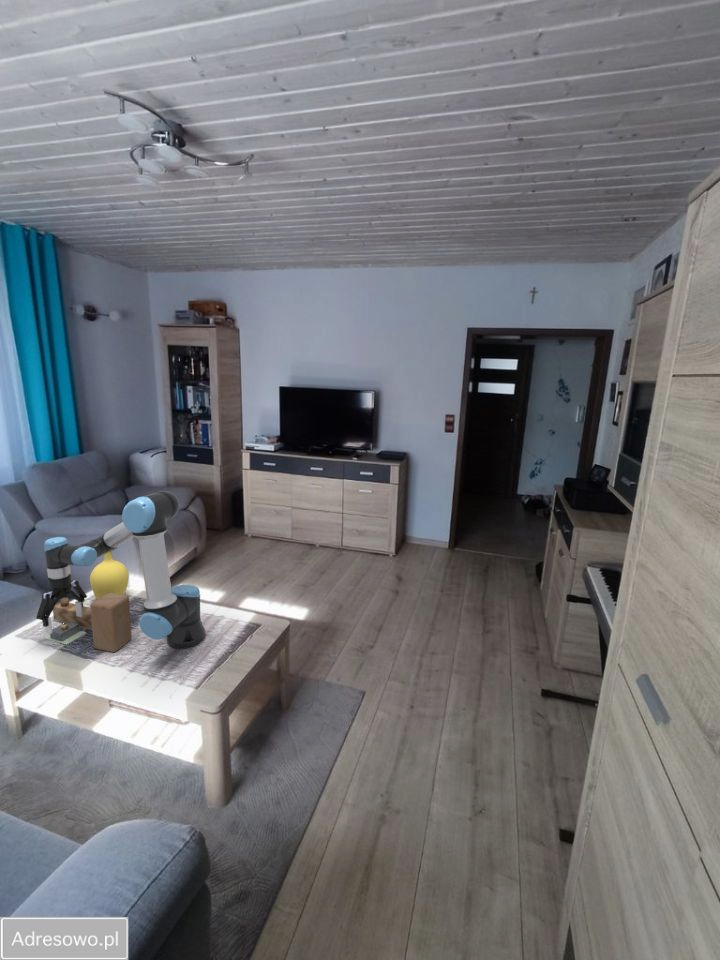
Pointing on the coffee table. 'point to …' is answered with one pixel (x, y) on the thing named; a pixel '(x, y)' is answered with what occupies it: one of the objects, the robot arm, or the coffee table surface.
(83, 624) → the body
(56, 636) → the lever cap
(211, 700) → the coffee table surface
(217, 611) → the coffee table surface
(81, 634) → the felt mat
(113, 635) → the wooden block
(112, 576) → the vase
